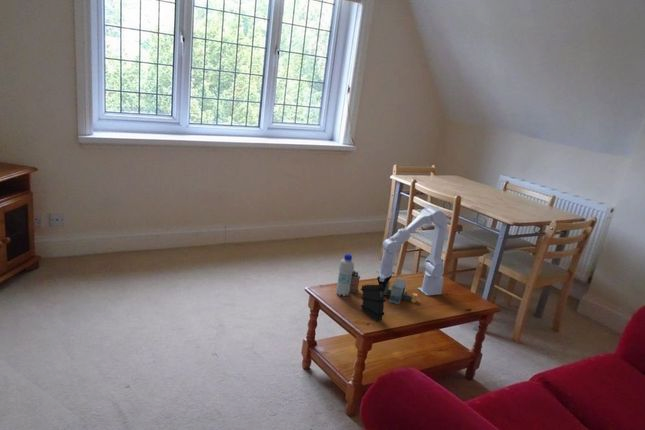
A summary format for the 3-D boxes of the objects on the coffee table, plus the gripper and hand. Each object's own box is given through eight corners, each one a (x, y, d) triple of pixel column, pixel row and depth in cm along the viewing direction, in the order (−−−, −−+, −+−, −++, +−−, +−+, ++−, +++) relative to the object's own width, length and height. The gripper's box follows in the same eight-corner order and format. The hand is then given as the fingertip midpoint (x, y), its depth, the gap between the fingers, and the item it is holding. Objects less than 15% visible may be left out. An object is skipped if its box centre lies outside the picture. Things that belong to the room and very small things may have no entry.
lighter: (358, 289, 232) (361, 270, 229) (357, 292, 229) (361, 273, 226) (341, 286, 233) (344, 267, 230) (340, 289, 230) (344, 270, 227)
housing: (405, 291, 237) (408, 278, 235) (398, 304, 222) (401, 291, 220) (395, 289, 238) (397, 276, 236) (388, 301, 224) (390, 288, 222)
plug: (416, 300, 229) (418, 290, 228) (415, 303, 226) (417, 292, 224) (381, 290, 234) (383, 280, 233) (379, 293, 231) (381, 283, 230)
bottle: (351, 297, 223) (357, 257, 217) (337, 297, 221) (343, 257, 215) (347, 291, 229) (353, 251, 223) (333, 290, 227) (339, 251, 221)
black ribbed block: (381, 321, 201) (377, 285, 202) (362, 320, 212) (357, 285, 213) (388, 320, 203) (383, 284, 205) (368, 318, 214) (364, 284, 215)
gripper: (382, 256, 236) (377, 282, 240) (375, 266, 223) (370, 293, 227) (396, 260, 234) (391, 286, 238) (390, 270, 221) (385, 297, 225)
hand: (382, 289), depth 232 cm, fingers closed on plug, 3 cm apart
